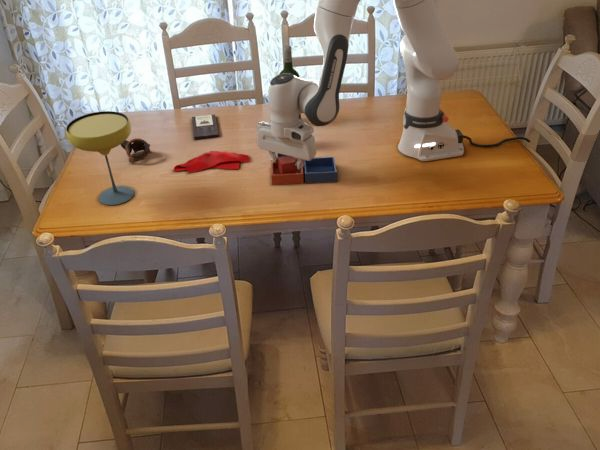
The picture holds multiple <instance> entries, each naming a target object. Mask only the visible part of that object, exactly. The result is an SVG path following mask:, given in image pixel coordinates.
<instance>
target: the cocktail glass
mask: <svg viewBox="0 0 600 450" xmlns="http://www.w3.org/2000/svg"><path fill="white" fill-rule="evenodd" d="M131 132H132V125H131V121H130V118H129V117H128V116H127V115H126V114H125V113H122V112H118V111H110V110H108V111H107V110H106V111H105V110H104V111H95V112H90V113H87V114H84V115H81V116H78V117H77V118H76V117H75V118H73V120H71V121H70V122H69V123H68V124H67V125H66V127H65V134H66V137H67V138H66V139H67V141H68V142H69V144H71V146H73V147H75V149H79V150H82V151H84V152H92V153H93V152H95V153H99V154H100V155H102V156H104V158H105V161H106V165H107V169H108V174H109V176H110V181H111V186H112V187H109V188H107V189H106V190H104V191H101V193H100V194H99V196H98V201H99V202H100V203H101V204H102V205H105V206H118V205H123V204H126V203H127V202H129V201H130V200H132V198H134V195H135V192H134V190H133V188H131V187H128V186H125V185H124V186H121V185H119V186H116V183H115V180H114V177H113V173H112V168H111V165H110V162H109V158H108V155H109V154H110V153H111V150H112V149H114V148H116V147H118V146H121V145H120V144H122V143H123V142H124V141H125V140H128V138H129V137H130V135H131Z"/></svg>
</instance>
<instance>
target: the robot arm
mask: <svg viewBox="0 0 600 450" xmlns="http://www.w3.org/2000/svg"><path fill="white" fill-rule="evenodd" d="M360 2H361V0H318V3H317V5H316V6H317V7H316V9H315V14H314V20H313V21H314V22H313V31H314V34H315V36H316V38H317V40H318V42H319V45H320V47H321V50H322V51H321V52H322V55H323V61H322V67H321V72H320V76H319V77H320V78H319V80H318V81H319V82H318V81H317V80H315V79H311V78H307V79H306V78H301V77H300V78H298V77H296V76H294V75H293V74H290V73H283V74H277V75H275V76H274V77H273V78H271V80H270V81H269V85H268V107H269V109H270V116H269V122H265V121H262V120H261V121H260V122H258V123H257V124H256V130H257V134H256V146H257V148H258V149H260V150H264V151H268V155H269V156H270V158H271V160H272V162H273V163H276V164H277V163H278V155H277V154H278V153H279V154H283V155H287V156H291V157H293V158H294V159H297V160H298V161H299V162H297V163H296V164H295V169H301V163H302V164H303V163H304V161H303V160H307V161H310V160H312V159H313V158H316V155H317V145H316V144H317V143H316V140H315V136H314V135H313V133H314V127H313V126H315V127H325V126H328V125H329V124H331V123H332V122H334V121H335V120H336V119H337V117H338V114H339V112H340V92H341V86H342V83H343V78H344V74H345V70H346V64H347V60H348V54H349V47H350V46H349V45H350V37H351V33H352V27H353V24H354V20H355V17H356V14H357V10H358V6H359V4H360ZM392 2H393V6H394V9H395V13H396V15H397V18H398V22H399V26H400V29H401V31H402V32H403V33H404V35H403V36H402V38H401V40H400V43H399V52H400V54H401V56H402V60H403V64H404V70H405V71H404V72H405V78H406V79H405V80H406V103H405V109H404V113H403V119H402V122H403V123H402V125H403V128H402V132H401V133H402V134H401V137H400V140H399V143H398V145H397V149H398V151H399V152H400V153H401V154H403V155H404V156H407V157H409V158H414V159H416V160H419V161H421V162H431V161H436V160H444V159H449V158H457V157H462V156H463V155H464V153H465V147H464V144H463V142H464V139H466V140H468V142H469V144H470V145H471V146H474V147H480V148H491V147H492V148H493V147H497V146H500V145H502V144H503V143H505V142H509V141H516V140H523V141H526V142H527V143H532V142H531V140H530V139H529V138H527V137H524V136H515V137H509V138H505V139H502V140H500V141H499V142H496V143H492V144H478V143H475V142H473V141H472V138H471V137H469V136H468V135H464V134H463V133H462V131H461V130H460V129H456V128H454V127H453V126H452V125H451V124H449V123H448V122H449V117H448V115H447V114H446V113H445V112H444V111H443V110H442V109H441V101H442V100H441V99H442V85H441V84H440V81H446V80H448V79H450V78H451V77H453V76H454V75H455V74H456V72H457V70H458V69H459V66H460V57H459V54H458V53H457V52H456V50H455V48H454V47H453V45H452V43H451V41H450V39H449V37H448V35H447V33H446V30H445V28H444V26H443V25H442V22H441V20H440V18H439V16H438V13H437V9H436V5H435V2H434V0H392ZM299 114H301V115H302V114H304V116H305V118H306V119H307V120H308V122H309V123H310V124H311V125H310V124H308V123H306V122H305V121H303V120H302V119H301V120H300V119H299ZM312 125H313V126H312Z"/></svg>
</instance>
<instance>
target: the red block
mask: <svg viewBox="0 0 600 450" xmlns="http://www.w3.org/2000/svg"><path fill="white" fill-rule="evenodd" d="M277 157H278V156H277ZM295 159H296V158H295V157H291V156H283V157H278V170H279V172H280V174H294V173H296V169H295V164H296V161H295Z"/></svg>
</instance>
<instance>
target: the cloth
mask: <svg viewBox="0 0 600 450" xmlns="http://www.w3.org/2000/svg"><path fill="white" fill-rule="evenodd" d="M250 162H251V159H250V156H249V154H244V153H237V152H229V151H220V150H219V151H218V150H209V152H204V153H203V154H200V155H198V156H196V157H193V158H191V159H189V160H187V161H186V162H184V163H180V164H176V165H174V167H173V170H172V171H173V172H183V171H187V174H192V173H196V172H202V171H204V170H207V169H221V170H239V169H240V163H242V164H244V163H250Z"/></svg>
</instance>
